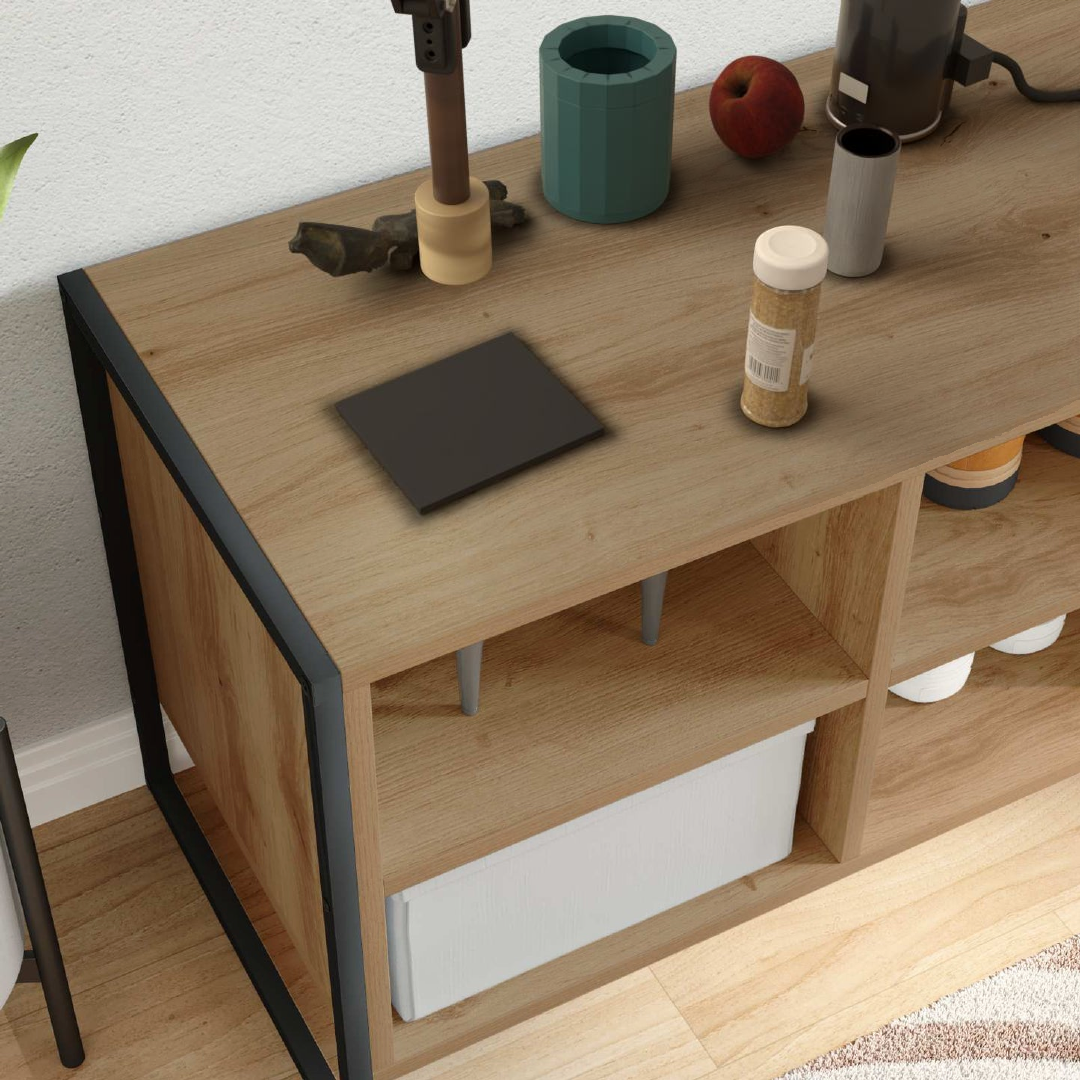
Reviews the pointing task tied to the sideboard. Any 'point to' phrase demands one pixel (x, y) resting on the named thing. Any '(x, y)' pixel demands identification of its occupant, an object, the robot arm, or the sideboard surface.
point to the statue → (382, 238)
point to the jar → (606, 117)
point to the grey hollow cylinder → (860, 197)
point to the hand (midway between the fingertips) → (444, 55)
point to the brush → (451, 188)
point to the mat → (467, 421)
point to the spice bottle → (783, 324)
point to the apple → (756, 106)
